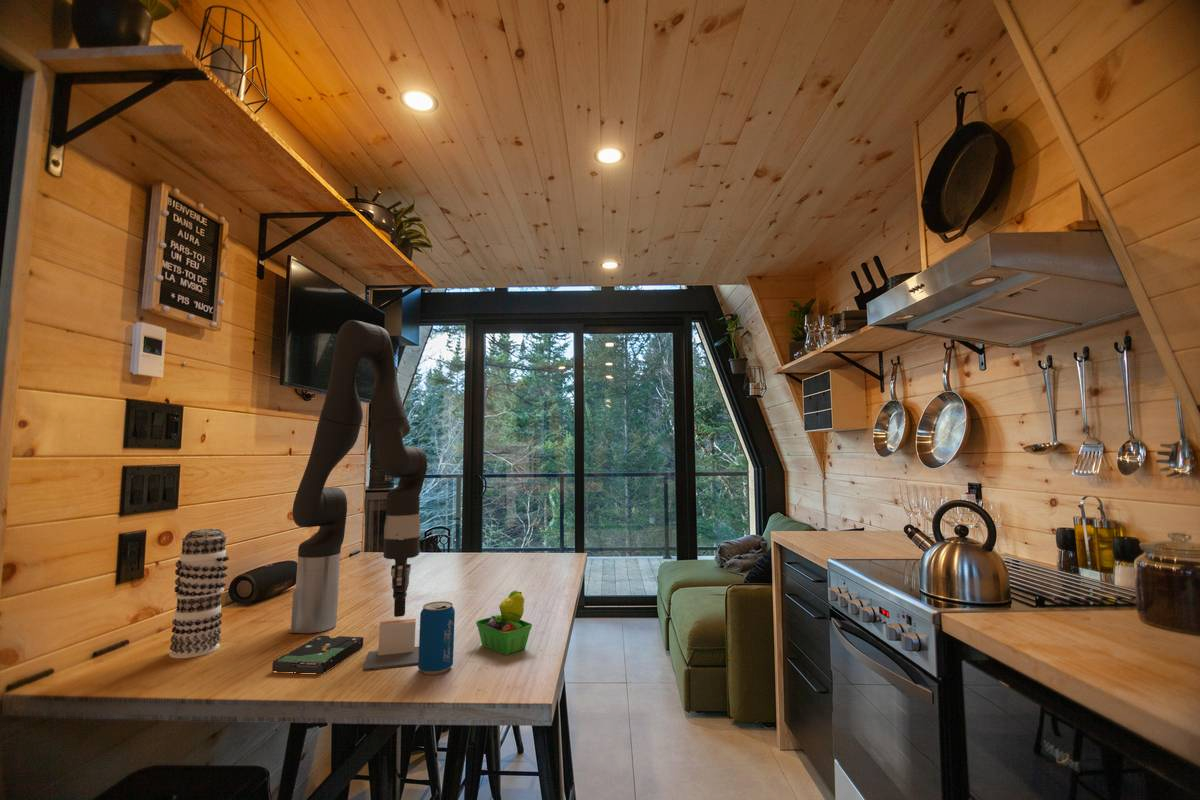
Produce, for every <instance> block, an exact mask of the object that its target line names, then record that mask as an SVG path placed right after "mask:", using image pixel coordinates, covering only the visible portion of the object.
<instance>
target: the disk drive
mask: <svg viewBox="0 0 1200 800" xmlns="http://www.w3.org/2000/svg"><path fill="white" fill-rule="evenodd" d="M362 647H363V648H364V637H363V636H345V635H344V636H342V635H340V636H336V637H330V635H319V636H316V637H315V638H312V639H311V640H308V641H307V642H305V643H304V644H302V645H300V646H298V647H296V648H295V649H293V650H291V651H288V652H287V653H284V654H283V655H281V656H280V657H278V658H276V659H275V660H273V661H272V667H271V668H272V670H271V672H272V671H277V672H293V673H294V672H296V673H316V674H323V673H324V672H325V673H327V672H328V671H327V670H329V669H330V670H332V669H333V668H335V667H336V666H337V665H336V664H338V663H339V664H341V663H342V662H343V661H345V660H346V659H348V658H349V657H351V656H352V655H354V654H355V653H356V651H357V652H358V650H359V651H360V650H362V649H363V648H362ZM353 653H354V654H353ZM350 655H351V656H350ZM347 657H348V658H347ZM344 659H345V660H344ZM341 661H342V662H341ZM339 664H338V665H339ZM335 665H336V666H335ZM334 666H335V667H334ZM332 667H333V668H332ZM331 668H332V669H331ZM330 670H329V671H330ZM326 671H327V672H326ZM325 673H324V674H325ZM324 674H323V675H324Z"/></svg>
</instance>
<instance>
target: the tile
mask: <svg viewBox="0 0 1200 800" xmlns="http://www.w3.org/2000/svg"><path fill="white" fill-rule="evenodd" d="M416 622H417V621H416V618H410V619H407V618H406V619H396V620H385V621H380V623H379V627H378V628H379V629H378V630H379V632H378V649H377V651H378V655H387V654H397V653H406V652H414V649H415V647H416Z"/></svg>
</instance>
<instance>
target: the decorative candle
mask: <svg viewBox="0 0 1200 800" xmlns="http://www.w3.org/2000/svg"><path fill="white" fill-rule="evenodd" d="M227 538H228V535H227V534H225V533H224V532H223V530H222V529H220V528H205V529H204V528H203V529H202V528H201V529H194V530H190V531H189V532H188V533H187V534H186V536H184V537H183V538H181V539H180V540H182V541H181V542H182V543H181V552H180V554H179V559H178V560H177V561H176V562H175V568H177V569H175V571H174V573H175V575H176V576H178V577H177V578H176V579H175V581H174V584H175V585H176V586H175V587H174V592H175V594H174V598H175V599H177V601H176V609H175V611H174V618H173V620H172V625H173V627H172V629H171V633H174V634H173V635H171V636H170V639H169V640H170V642H171V643H170V646H169V650H170V652H169V655H168V656H169V657H170V658H173V659H191V658H196V657H200V656H204V655H205V656H206V655H208V654H211V653H214V652H215V651H217V650H219V649H220V647H221V646H220V643H219V642H220V641H221V639H222V638H221V636H220V634H221V633H222V628H221V627H220V626H221V625H222V620H221V618H222V617H223V613H222V603H221V601H222V599H221V598H222V593H224V592H225V588H224V587H225V586H226V583H225V582H223V579H224V578H226V577H227V576H228V574H227V573H225V571H226V570H228V566H226V565H225V564H224V563H225V562H226V561H228V560H229V559H230V557H229V556H228V555H226V553H227V549H226V540H227Z"/></svg>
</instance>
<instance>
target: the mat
mask: <svg viewBox="0 0 1200 800" xmlns="http://www.w3.org/2000/svg"><path fill="white" fill-rule="evenodd" d="M418 659H419V646H415V649H414V652H406V653H397V654H387V655H378V650H371V651H368V652H367V655H366V659H365V662H364V665H363V667H362V668H363V669H362V670H365V671H371V670H370V669H374V670H380V669H379V668H381V670H382V668H383V669H389V668H391V667H392V668H398V667H407V666H418ZM392 668H391V669H392Z"/></svg>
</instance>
